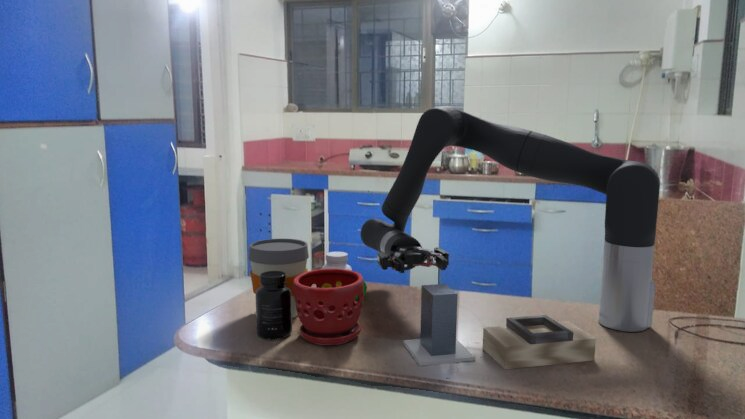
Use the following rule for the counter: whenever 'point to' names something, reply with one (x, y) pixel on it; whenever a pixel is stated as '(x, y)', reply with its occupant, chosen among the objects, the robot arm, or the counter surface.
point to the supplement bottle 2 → (336, 264)
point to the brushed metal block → (438, 319)
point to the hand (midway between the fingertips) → (423, 266)
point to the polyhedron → (364, 290)
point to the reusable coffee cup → (278, 261)
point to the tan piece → (537, 342)
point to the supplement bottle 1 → (273, 306)
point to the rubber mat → (426, 359)
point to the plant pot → (329, 305)
